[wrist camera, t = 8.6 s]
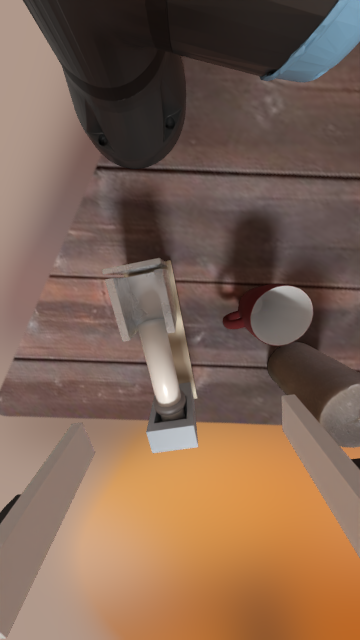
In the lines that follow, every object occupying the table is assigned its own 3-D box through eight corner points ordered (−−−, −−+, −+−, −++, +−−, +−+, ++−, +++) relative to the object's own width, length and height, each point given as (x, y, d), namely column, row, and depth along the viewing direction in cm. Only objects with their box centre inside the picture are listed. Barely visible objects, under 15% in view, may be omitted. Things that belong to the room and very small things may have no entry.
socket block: (156, 387, 36) (146, 432, 26) (190, 382, 35) (193, 425, 25) (160, 403, 37) (152, 453, 27) (193, 398, 36) (198, 447, 26)
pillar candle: (276, 392, 37) (339, 469, 22) (259, 353, 35) (317, 411, 20) (322, 373, 36) (420, 441, 21) (308, 332, 33) (406, 376, 19)
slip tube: (138, 321, 28) (128, 331, 23) (169, 315, 28) (166, 324, 23) (161, 413, 33) (158, 438, 28) (189, 409, 32) (190, 434, 27)
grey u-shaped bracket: (126, 270, 30) (101, 269, 21) (166, 262, 30) (159, 257, 20) (139, 322, 32) (122, 341, 23) (177, 315, 32) (175, 332, 23)
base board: (124, 270, 31) (122, 269, 30) (170, 260, 30) (170, 260, 30) (158, 401, 38) (157, 404, 37) (196, 395, 37) (197, 398, 36)
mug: (228, 338, 34) (247, 364, 24) (209, 301, 32) (221, 313, 23) (280, 312, 32) (322, 328, 23) (264, 272, 31) (301, 272, 21)
